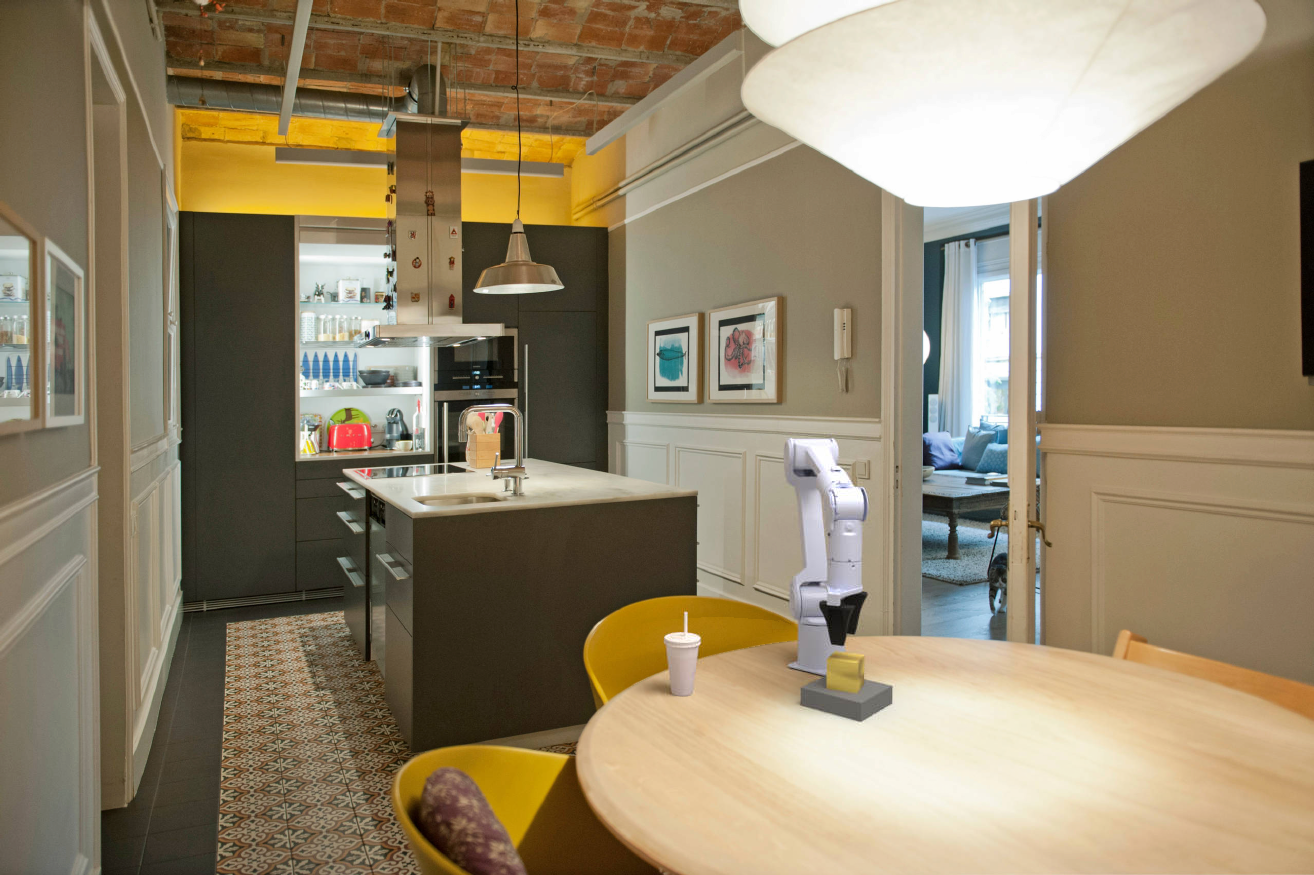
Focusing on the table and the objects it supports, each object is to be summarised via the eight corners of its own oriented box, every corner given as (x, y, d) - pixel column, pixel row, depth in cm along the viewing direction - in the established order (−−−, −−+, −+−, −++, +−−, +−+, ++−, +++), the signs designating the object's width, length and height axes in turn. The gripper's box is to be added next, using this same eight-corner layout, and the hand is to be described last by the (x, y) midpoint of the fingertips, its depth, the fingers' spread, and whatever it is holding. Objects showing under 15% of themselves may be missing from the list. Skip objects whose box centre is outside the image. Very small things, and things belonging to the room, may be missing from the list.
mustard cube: (834, 680, 143) (835, 651, 142) (864, 684, 140) (864, 655, 140) (826, 688, 138) (826, 658, 138) (856, 693, 136) (857, 663, 136)
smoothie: (701, 699, 141) (701, 617, 141) (663, 698, 142) (663, 616, 141) (700, 686, 148) (700, 608, 147) (663, 686, 148) (664, 607, 147)
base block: (833, 691, 147) (833, 672, 147) (892, 706, 140) (892, 685, 140) (800, 708, 139) (800, 687, 139) (860, 725, 132) (861, 703, 131)
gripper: (832, 550, 149) (831, 626, 149) (809, 564, 136) (808, 647, 136) (872, 553, 146) (871, 631, 146) (852, 568, 133) (851, 653, 133)
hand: (843, 639), depth 141 cm, fingers open, 7 cm apart
